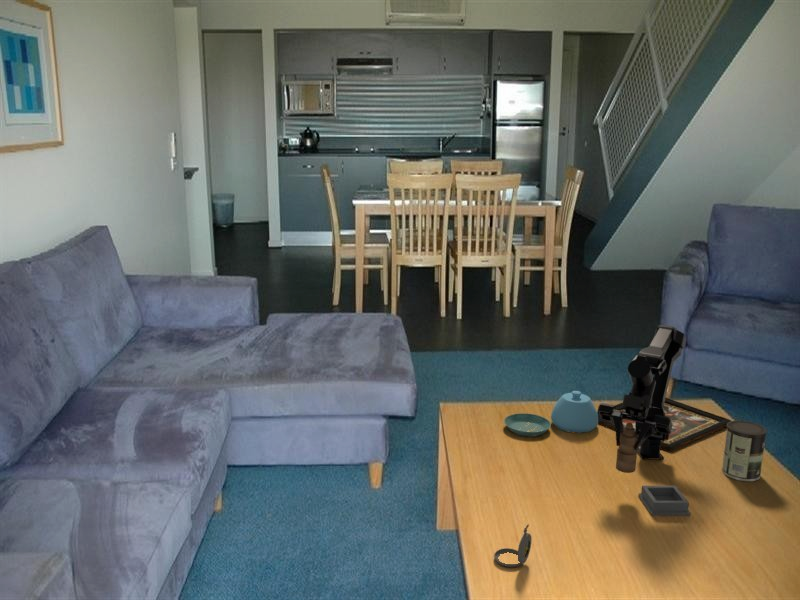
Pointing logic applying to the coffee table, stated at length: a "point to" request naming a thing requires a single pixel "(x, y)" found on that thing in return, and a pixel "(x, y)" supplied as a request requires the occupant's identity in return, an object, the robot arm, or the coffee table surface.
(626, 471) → the pepper mill
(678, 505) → the slate open box
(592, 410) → the sugar bowl
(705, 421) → the framed icon painting
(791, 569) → the coffee table surface
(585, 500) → the coffee table surface
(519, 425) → the saucer
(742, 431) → the coffee can
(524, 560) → the pocket watch
